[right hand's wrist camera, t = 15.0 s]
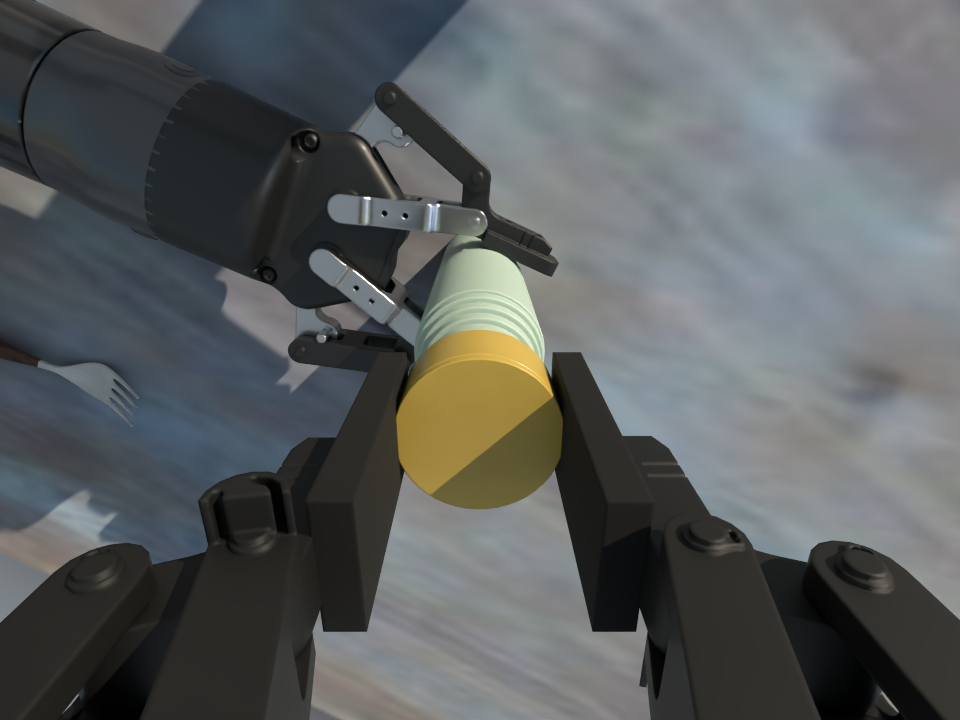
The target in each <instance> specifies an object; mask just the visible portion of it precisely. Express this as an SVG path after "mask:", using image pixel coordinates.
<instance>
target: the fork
mask: <svg viewBox="0 0 960 720" xmlns="http://www.w3.org/2000/svg"><path fill="white" fill-rule="evenodd" d="M0 358H2V359H6V360H10V361H14V362H18V363H23V364H27V365H31V366H35V367H39V368H43V369H46V370H50V371H52V372H55V373H57V374H59V375H61V376H63V377H65V378H66V379H68V380H69V381H71V382H72V383H74V384H75V385H77V386H78V387H80V388H81V389H83V390H84V391H86V392H87V393H89V394H90V395H92V396H93V397H95V398H97V399H98V400H100V401H102V402H103V403H105V404H107V405H108V406H109V407H111V408H112V409H113V410H114V411H116V412H117V413H118V414H119V415H120V416H121V417H122V418H123V419H124V420H125V421H126V422H127V423H128V424H129V425H130V427H133V424H132V423H131V421H130V420H129V419H128V418H127V417H126V416H125V415H124V414H123V412H122V411H121V410H120V409H119V408H118V407H117V406H116V405H115V404H114V403H113V402H112V401H111V400H110V397H111V398H113V399H114V400H115V401H116V402H118V403H119V404H120V405H121V406H122V407H123V408H124V409H125V410H126V411H127V412H128V413H129V414H130V415H131V416H132V417H135V415H134V414H133V412H132V411H131V410H130V409H129V408H128V407H127V406H126V405H125V403H124V402H123V401H122V400H121V399H120V398H119V397H118V396H117V395H116V394H115V393H114V392H113V391H112V388H113V389H115V390H116V391H117V392H118V393H120V394H121V395H122V396H123V397H124V398H125V399H126V400H127V401H128V402H129V403H130V404H131V405H132V406H133V407H134V408H137V406H136V404H135V403H134V402H133V401H132V400H131V399H130V398H129V396H128V395H127V394H126V393H125V392H124V391H123V390H122V389H121V388H120V387H119V386H118V385H117V384H116V383H115V382H114V380H113V379H116V380H117V381H118V382H120V383H121V384H122V385H123V386H124V387H125V388H126V389H128V390H129V391H130V392H131V393H132V394H133V395H134V396H135V397H136V399H139V396H138V395H137V394H136V393H135V391H134V390H133V389H132V388H131V387H130V386H129V385H128V384H127V383H126V382H125V381H124V380H123V379H122V378H121V377H120V376H119V375H118V374H116V373H115V372H114V371H113V370H112V369H110V368H109V367H108V366H106V365H104V364H101V363H95V362H90V363H82V364H76V365H71V366H56V365H53V364H50V363H47V362H45V361H43V360H41V359H38V358H36V357H34V356H32V355H30V354H28V353H26V352H24V351H21V350H19V349H17V348H15V347H13V346H11V345H8V344H6V343H4V342H2V341H0Z"/></svg>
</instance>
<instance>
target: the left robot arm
mask: <svg viewBox="0 0 960 720" xmlns="http://www.w3.org/2000/svg"><path fill="white" fill-rule="evenodd" d="M375 102H376V104H375V105H374V107H373V108H372V110H371V111H370V112H369V114H368V115H367V117H366V118H365V119H364V121H363V122H362V124H361V125H360V127H359V128H358V129H357V131H356V132H355V133H353V132H338V133H332V132H328V131H326V130H323V129H321V128H319V127H316V126H314V125H312V124H310V123H308V122H306V121H304V120H302V119H300V118H297V117H295V116H293V115H291V114H289V113H287V112H285V111H283V110H281V109H278V108H276V107H274V106H272V105H270V104H268V103H266V102H264V101H261V100H259V99H257V98H255V97H253V96H251V95H249V94H247V93H245V92H243V91H240V90H238V89H236V88H234V87H232V86H230V85H228V84H226V83H223V82H221V81H219V80H217V79H214V78H212V77H210V76H208V75H206V74H204V73H202V72H200V71H198V70H196V69H194V68H192V67H190V66H188V65H186V64H183V63H181V62H179V61H177V60H175V59H173V58H171V57H168V56H166V55H164V54H161V53H159V52H156V51H153V50H151V49H148V48H145V47H142V46H139V45H136V44H132V43H129V42H126V41H123V40H120V39H117V38H115V37H112V36H110V35H108V34H105V33H103V32H101V31H99V30H97V29H95V28H93V27H91V26H88V25H86V24H84V23H82V22H80V21H78V20H76V19H74V18H71V17H69V16H67V15H65V14H63V13H61V12H59V11H57V10H54V9H52V8H50V7H48V6H46V5H44V4H42V3H40V2H37V1H35V0H0V167H3V168H5V169H8V170H10V171H12V172H15V173H17V174H19V175H22V176H24V177H27V178H29V179H31V180H34V181H36V182H38V183H41V184H43V185H46V186H48V187H50V188H53V189H54V190H57V191H59V192H61V193H63V194H65V195H67V196H69V197H71V198H72V199H74V200H76V201H78V202H79V203H81V204H83V205H84V206H86V207H88V208H90V209H91V210H93V211H95V212H97V213H99V214H101V215H103V216H105V217H107V218H109V219H111V220H114V221H116V222H118V223H121V224H123V225H125V226H128V227H130V228H131V229H132V230H133V231H134V232H136V233H138V234H140V235H143V236H145V237H148V238H151V239H155V240H158V239H159V240H161V241H163V242H166V243H168V244H171V245H173V246H176V247H178V248H180V249H183V250H185V251H187V252H190V253H192V254H194V255H197V256H199V257H202V258H204V259H206V260H209V261H211V262H214V263H216V264H218V265H221V266H223V267H225V268H228V269H230V270H233V271H235V272H237V273H240V274H242V275H245V276H247V277H249V278H252V279H255V280H258V281H261V282H264V283H267V284H269V285H271V286H273V287H274V288H276V289H277V290H278V291H280V292H281V293H282V294H283V295H284V296H285V298H286V299H287V300H288V301H289V302H290V303H291V304H293V305H294V306H296V337H295V339H294V340H293V342H292V343H291V344H290V345H289V347H288V353H289V356H290V357H291V358H292V359H293V360H294V361H296V362H298V363H304V364H312V365H319V366H326V367H334V368H341V369H349V370H356V371H364V372H369V371H370V369H371V367H372V365H373V363H374V361H375V359H376V357H377V355H378V353H379V352H407V369H408V370H409V368H410V365H411V364H412V363H413V362H414V361H415V356H414V345H415V338H416V334H417V331H418V328H419V325H420V322H421V319H422V316H423V313H424V311H425V307H424V306H423V305H422V304H421V303H419V302H418V301H417V300H416V299H415V298H413V297H412V296H411V295H410V293H409V291H408V290H407V289H406V288H405V287H404V286H403V285H402V284H401V283H400V282H399V281H397V280H396V279H395V278H394V277H393V276H392V275H393V273H394V270H395V268H396V263H397V253H398V249H399V248H400V246H401V245H402V244H403V242H404V241H405V240H406V239H407V237H408V235H409V233H410V231H418V232H429V233H430V232H440V233H448V234H456V235H465V236H474V237H477V238H479V239H481V245H482V246H484V247H486V248H488V249H490V250H493V251H495V252H497V253H500V254H502V255H504V256H506V257H508V258H510V259H512V260H514V261H517V262H519V263H521V264H523V265H525V266H527V267H530V268H532V269H534V270H536V271H538V272H541V273H543V274H545V275H547V276H551V277H552V276H553V274H554V272H555V270H556V268H557V266H558V264H559V263H558V261H557V260H556V258H555V257H553V256H552V255H550V252H551V250H552V247H551V246H550V244H549V243H548V242H547V241H546V240H545V239H544V237H543V236H542V235H540V234H538V233H536V232H534V231H531V230H529V229H527V228H525V227H523V226H521V225H519V224H517V223H514V222H512V221H510V220H508V219H506V218H504V217H502V216H500V215H498V214H496V213H495V212H494V211H493V210H492V209H491V207H490V205H489V194H490V182H491V174H490V171H489V169H488V167H487V166H486V165H485V164H484V163H483V162H481V161H480V160H479V159H478V158H477V157H476V156H475V155H474V154H473V153H472V152H471V151H469V150H468V149H467V148H466V147H465V146H464V145H463V144H462V143H461V142H460V141H459V140H457V139H456V138H455V137H454V136H453V135H452V134H451V133H450V132H449V131H448V130H447V129H445V128H444V127H443V126H442V125H441V124H440V123H439V122H438V121H437V120H436V119H435V118H433V117H432V116H431V115H430V114H429V113H428V112H427V111H426V110H425V109H424V108H423V107H421V106H420V105H419V104H418V103H417V102H416V101H415V100H414V99H413V98H412V97H411V96H409V95H408V94H407V93H406V92H405V91H404V90H402V89H401V88H400V87H399V86H397V85H396V84H394V83H391V82H386V83H383V84H381V85H380V86H379V87H378V88H377V90H376V93H375ZM413 141H415V142H416V143H417V144H418V145H419V146H421V147H422V148H423V149H424V150H425V151H426V152H427V153H428V154H430V155H431V156H432V157H433V158H434V159H435V160H436V161H437V162H439V163H440V164H441V165H442V166H443V167H444V168H445V169H446V170H447V171H449V172H450V173H451V174H452V175H453V176H454V177H455V178H456V179H458V180H459V181H460V182H461V183H462V184H463V194H462V202H456V201H448V200H441V199H438V198H432V197H424V196H416V195H408V194H403V192H402V191H401V189H400V187H399V186H398V184H397V182H396V181H395V179H394V177H393V175H392V174H391V172H390V170H389V169H388V167H387V165H386V164H385V162H384V160H383V159H382V157H381V155H380V154H379V152H378V150H377V149H376V146H377V145H378V144H380V143H382V142H389V143H390V144H392V145H394V146H396V147H408V146H410V145H411V144H412V143H413ZM371 298H372V299H374V301H373V300H372V299H371ZM351 301H353V302H354V303H355V304H357V305H358V306H359V307H360V308H362V309H363V310H364V311H365V312H367V313H368V314H369V315H370V316H371V317H373V318H374V319H375V320H376V321H378V322H379V323H381V324H383V325H387V326H389V327H391V328H392V329H393V330H394V331H396V332H397V333H398V334H399V335H400V337H398V336H391V335H384V334H376V333H369V332H362V331H355V330H347V329H342V328H341V325H340V323H339V322H338V321H337V320H336V319H334V318H331V317H328V316H326V315H325V314H324V313H323V312H322V310H321V307H326V306H331V305H336V304H341V303H346V302H351Z"/></svg>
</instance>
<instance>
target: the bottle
mask: <svg viewBox="0 0 960 720" xmlns="http://www.w3.org/2000/svg"><path fill="white" fill-rule="evenodd" d="M467 330H492V331H497V332H501V333H504V334H507V335H510V336H512V337H514V338H516V339H518V340H520V341H522V342H523V343H525V344H526V345H527V346H529V347H530V348H531V349H532V350H533V351H534V352H535V353H536V354H537V355H538V356H539V357H540V359H541V360H542V361H543V363H544V353H545V349H544V340H543V335H542V332H541V329H540V326H539V323H538V320H537V317H536V314H535V311H534V308H533V305H532V302H531V299H530V297H529V294H528V291H527V288H526V285H525V282H524V279H523V276H522V273H521V270H520V267H519V264H518V262H517V261H514V260H512V259H510V258H508V257H506V256H504V255H502V254H500V253H497V252H495V251H493V250H490V249H488V248H486V247H484V246H482V245H481V239H479V238H477V237H474V236H465V235H457V236H455V237H454V238H453V239H452V241H451V242H450V243H449V245H448V246H447V248H446V250H445V253H444V256H443V259H442V261H441V264H440V267H439V270H438V273H437V276H436V279H435V282H434V285H433V287H432V290H431V293H430V296H429V299H428V302H427V305H426V308H425V311H424V313H423V316H422V319H421V322H420V325H419V328H418V331H417V334H416V338H415V345H414V356H415V362H416V361H417V359H418V358H419V357H420V355H421V354H422V353H423V352H424V351H425V350H426V349H427V348H429V347H430V346H431V345H432V344H434V343H435V342H437V341H439V340H440V339H442V338H444V337H446V336H449V335H451V334H454V333H458V332H461V331H467Z"/></svg>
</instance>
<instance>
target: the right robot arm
mask: <svg viewBox="0 0 960 720" xmlns="http://www.w3.org/2000/svg"><path fill="white" fill-rule="evenodd" d="M407 379H408V369H407V352H379V353H378V355H377V357H376V359H375V361H374V363H373V365H372V367H371V369H370V371H369V373H368V375H367V377H366V379H365V381H364V383H363V385H362V387H361V389H360V391H359V393H358V395H357V397H356V399H355V401H354V403H353V405H352V407H351V409H350V411H349V413H348V415H347V417H346V419H345V421H344V423H343V425H342V427H341V429H340V431H339V433H338V435H337V437H336V438H307V439H306V440H304V441H303V442H302V443H300V444H299V445H297V446H296V447H295V448H293V449H292V450H291V451H290V453H289V454H288V456H287V457H286V459H285V461H284V462H283V464H282V467H280V469H279V470H278V472H277V473H276V474H275V473H271V472H250V473H245V474H240V475H235V476H233V477H230V478H228V479H225V480H223V481H220V482H219V483H217V484H216V485H214V486H213V487H211V488H210V489H208V490H207V491H206V492H205V493H204V494H203V495H202V497H201V498H200V499H199V500H198V503H199V507H200V512H201V516H202V520H203V524H204V529H205V533H206V537H207V542H208V547H207V550H206V552H204V553H201V554H197V555H194V556H190V557H186V558H181V559H177V560H172V561H168V562H163V563H158V564H154V565H152V562H151V558H150V555H149V552H148V551H147V550H146V549H144V548H143V547H142V546H141V545H136V544H130V543H122V544H111V545H107V546H103V547H100V548H96V549H93V550H90V551H88V552H86V553H84V554H82V555H80V556H78V557H76V558H74V559H72V560H70V561H69V562H67V563H66V564H65V565H63V566H62V567H61V568H59V569H58V570H57V571H55V572H54V573H53V574H52V575H51V576H50V577H49V578H48V579H46V581H44V582H43V583H42V584H41V585H40V586H39V587H38V588H37V589H36V590H35V591H34V592H33V593H32V594H31V595H29V596H28V597H27V598H26V599H25V600H24V601H23V602H22V603H21V604H20V605H19V606H18V607H17V608H16V609H15V610H14V611H12V612H11V613H10V614H9V615H8V616H7V617H6V618H5V619H4V620H3V621H2V622H1V623H0V720H309V717H310V707H311V697H312V686H313V676H314V666H315V655H316V653H315V646H314V640H313V633H312V631H313V628H314V625H315V622H316V620H317V617H318V614H319V611H320V612H321V619H322V625H323V632H367V629H368V624H369V620H370V616H371V612H372V607H373V603H374V599H375V594H376V590H377V586H378V582H379V577H380V573H381V569H382V564H383V560H384V556H385V552H386V547H387V543H388V539H389V534H390V530H391V526H392V522H393V517H394V513H395V509H396V504H397V500H398V496H399V492H400V487H401V483H402V479H403V474H404V469H403V467H402V466H401V464H400V462H399V453H398V437H397V422H396V413H397V410H398V407H399V404H400V400H401V397H402V394H403V391H404V388H405V385H406V382H407ZM551 380H552V383H553V386H554V389H555V393H556V396H557V399H558V402H559V406H560V409H561V412H562V416H563V428H562V444H561V457H560V460H559V462H558V464H557V466H556V468H555V473H556V477H557V481H558V485H559V490H560V494H561V498H562V503H563V507H564V511H565V515H566V520H567V524H568V528H569V533H570V537H571V541H572V545H573V550H574V554H575V558H576V563H577V567H578V571H579V575H580V580H581V584H582V588H583V593H584V597H585V601H586V606H587V610H588V614H589V618H590V623H591V627H592V631H593V632H636V628H637V621H638V614H639V608H640V610H641V613H642V616H643V619H644V622H645V624H646V627H647V630H648V633H647V640H646V646H645V652H644V659H643V665H642V672H641V678H640V685H639V686H641V687H646V686H647V685H648V695H649V706H650V716H651V720H960V620H959V619H958V618H957V617H956V616H955V615H954V614H953V613H952V612H951V611H949V610H948V609H947V608H946V607H945V606H944V605H943V604H942V603H941V602H940V601H939V600H938V599H937V598H936V597H935V596H933V595H932V594H931V593H930V592H929V591H928V590H927V589H926V588H925V587H924V586H923V585H922V584H921V583H920V582H918V581H917V580H916V579H915V578H914V577H913V576H912V575H911V574H910V573H909V572H908V571H907V570H905V569H904V568H903V567H901V566H900V565H899V564H897V563H896V562H895V561H893V560H892V559H891V558H889V557H887V556H885V555H883V554H881V553H879V552H877V551H875V550H873V549H871V548H868V547H865V546H861V545H858V544H854V543H851V542H842V541H828V542H822V543H818V544H817V545H816V546H815V547H814V548H813V549H812V550H811V552H810V555H809V559H808V562H802V561H798V560H793V559H789V558H784V557H779V556H775V555H770V554H767V553H763V552H760V551H756V550H754V549H753V546H752V544H751V543H750V541H749V540H748V538H747V537H746V535H745V534H744V533H743V532H742V531H740V530H739V529H738V528H736V527H735V526H734V525H732V524H731V523H729V522H726V521H724V520H722V519H720V518H718V517H715V516H711V515H710V513H709V512H708V510H707V508H706V507H705V505H704V504H703V502H702V501H701V499H700V497H699V496H698V494H697V493H696V491H695V489H694V488H693V486H692V485H691V483H690V482H689V480H688V478H687V477H685V474H684V472H683V470H682V469H681V467H680V466H679V465H678V464H677V461H676V459H675V458H674V456H673V455H672V453H671V451H670V450H669V448H667V447H666V446H665V445H663V444H662V443H660V442H659V441H658V440H656V439H655V438H653V437H652V436H622V434H621V432H620V430H619V428H618V426H617V424H616V422H615V420H614V418H613V416H612V414H611V412H610V410H609V408H608V406H607V404H606V402H605V400H604V398H603V396H602V394H601V392H600V390H599V388H598V386H597V384H596V382H595V380H594V378H593V376H592V374H591V372H590V370H589V368H588V366H587V364H586V362H585V360H584V358H583V356H582V354H581V352H553V358H552V376H551ZM77 694H79V696H78V697H77V699H76V700H75V701H74V702H73V704H72V705H71V706H70V707H69V708H68V709H67V710H66V711H65V709H66V708H67V707H68V705H69V704H70V703H71V702H72V700H73V699H74V698H75V696H76V695H77ZM64 711H65V712H64ZM63 712H64V713H63ZM62 713H63V714H62ZM61 714H62V715H61Z"/></svg>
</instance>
